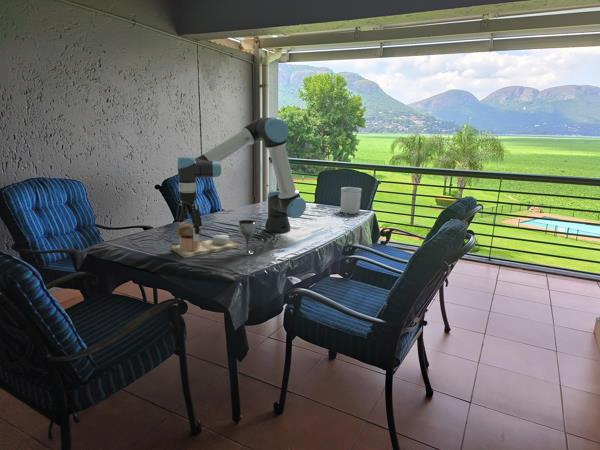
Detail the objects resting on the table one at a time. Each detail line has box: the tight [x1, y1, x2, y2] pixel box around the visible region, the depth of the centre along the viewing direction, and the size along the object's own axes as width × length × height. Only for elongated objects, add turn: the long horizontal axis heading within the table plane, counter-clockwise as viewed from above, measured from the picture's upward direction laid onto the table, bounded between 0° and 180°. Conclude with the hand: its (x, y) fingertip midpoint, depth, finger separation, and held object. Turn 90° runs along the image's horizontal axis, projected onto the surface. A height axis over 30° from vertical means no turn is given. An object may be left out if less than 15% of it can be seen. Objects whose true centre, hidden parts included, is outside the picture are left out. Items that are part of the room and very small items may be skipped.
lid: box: [176, 223, 202, 236], centre depth 176 cm, size 11×11×3 cm
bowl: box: [178, 235, 200, 251], centre depth 178 cm, size 9×9×6 cm
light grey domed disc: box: [212, 234, 230, 245], centre depth 188 cm, size 8×8×3 cm
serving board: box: [171, 238, 240, 259], centre depth 184 cm, size 28×15×2 cm, turn 130°
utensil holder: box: [340, 186, 363, 215], centre depth 276 cm, size 15×15×18 cm
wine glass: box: [238, 219, 257, 256], centre depth 178 cm, size 8×8×15 cm
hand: (189, 238), depth 177 cm, fingers closed on lid, 11 cm apart
